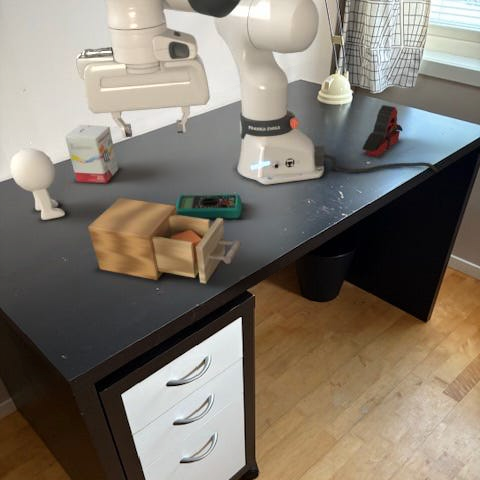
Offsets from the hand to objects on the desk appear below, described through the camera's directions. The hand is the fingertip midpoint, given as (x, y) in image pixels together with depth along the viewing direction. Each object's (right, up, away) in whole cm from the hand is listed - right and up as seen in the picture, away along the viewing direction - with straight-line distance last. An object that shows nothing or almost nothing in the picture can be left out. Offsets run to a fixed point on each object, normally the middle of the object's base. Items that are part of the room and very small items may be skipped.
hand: (155, 134), depth 83 cm
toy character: (-30, -8, +28) cm, 42 cm away
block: (+5, -21, +9) cm, 23 cm away
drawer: (+7, -22, +9) cm, 25 cm away
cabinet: (-5, -20, +13) cm, 24 cm away
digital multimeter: (+8, -8, +26) cm, 28 cm away
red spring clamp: (+54, +15, +49) cm, 75 cm away
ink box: (-23, +5, +42) cm, 48 cm away
